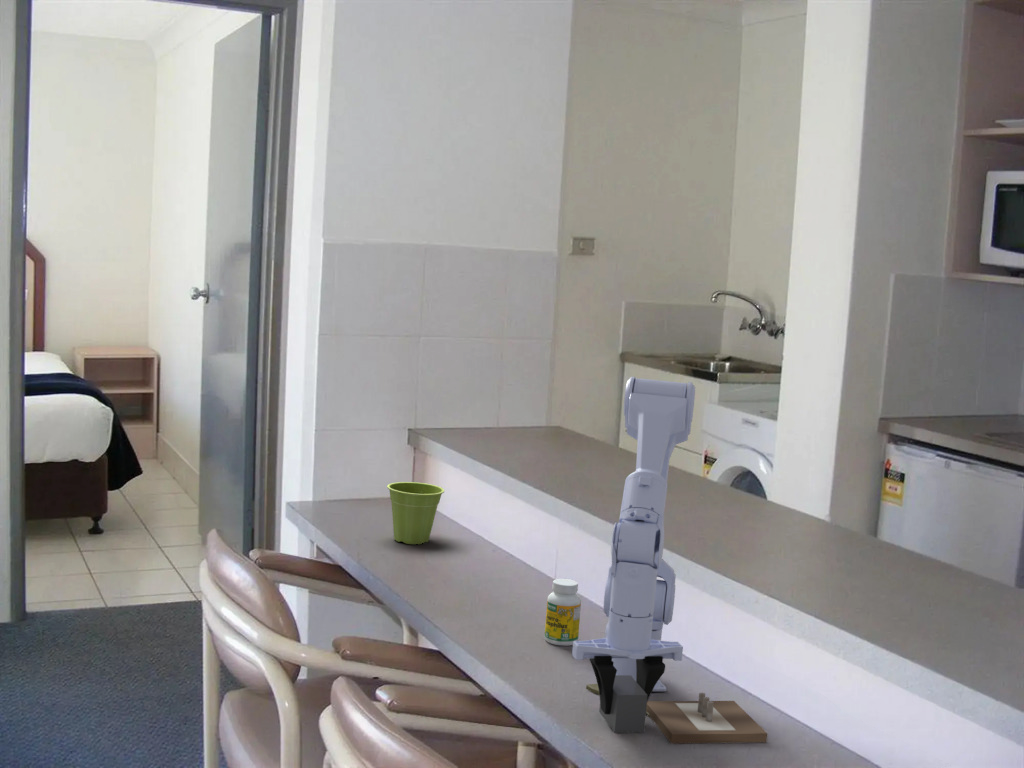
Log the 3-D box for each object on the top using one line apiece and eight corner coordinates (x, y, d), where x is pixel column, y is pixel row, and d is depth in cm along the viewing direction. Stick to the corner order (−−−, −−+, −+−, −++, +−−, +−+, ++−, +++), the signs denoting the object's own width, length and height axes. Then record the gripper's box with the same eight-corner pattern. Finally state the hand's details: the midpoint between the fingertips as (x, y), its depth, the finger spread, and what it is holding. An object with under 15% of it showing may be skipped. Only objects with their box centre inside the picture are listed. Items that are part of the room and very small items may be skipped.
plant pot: (404, 550, 232) (408, 495, 231) (372, 536, 242) (376, 483, 240) (451, 544, 240) (455, 491, 239) (419, 531, 249) (423, 480, 248)
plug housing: (595, 705, 158) (598, 670, 157) (623, 705, 159) (626, 670, 158) (614, 732, 149) (618, 695, 149) (644, 732, 150) (647, 695, 149)
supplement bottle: (583, 640, 185) (588, 582, 184) (568, 649, 180) (573, 589, 179) (553, 633, 188) (558, 575, 187) (537, 641, 183) (542, 582, 182)
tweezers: (584, 690, 164) (585, 684, 164) (594, 689, 165) (595, 682, 165) (646, 721, 155) (647, 715, 154) (657, 719, 156) (657, 713, 156)
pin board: (643, 709, 158) (646, 682, 157) (733, 709, 161) (735, 682, 160) (671, 743, 147) (674, 714, 147) (766, 742, 150) (769, 714, 150)
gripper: (586, 620, 146) (577, 723, 147) (694, 621, 149) (684, 723, 150) (571, 603, 153) (563, 702, 154) (675, 604, 156) (666, 702, 157)
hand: (622, 711), depth 153 cm, fingers closed on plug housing, 4 cm apart
